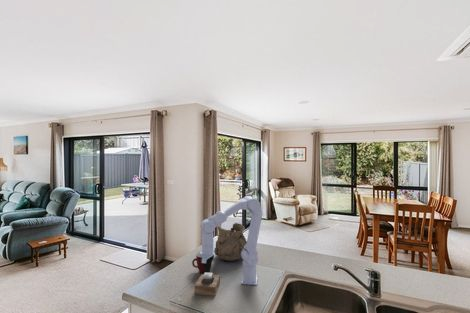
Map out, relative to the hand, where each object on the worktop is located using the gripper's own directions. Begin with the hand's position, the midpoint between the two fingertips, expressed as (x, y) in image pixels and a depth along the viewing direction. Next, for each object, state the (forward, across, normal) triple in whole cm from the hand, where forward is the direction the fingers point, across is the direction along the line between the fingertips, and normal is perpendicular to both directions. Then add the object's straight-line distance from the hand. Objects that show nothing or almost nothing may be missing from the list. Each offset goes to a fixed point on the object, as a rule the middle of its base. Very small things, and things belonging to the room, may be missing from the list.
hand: (207, 271), depth 116 cm
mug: (+9, -16, -8) cm, 20 cm away
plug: (+8, 0, 0) cm, 9 cm away
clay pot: (+9, -38, +6) cm, 39 cm away
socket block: (+8, 0, 0) cm, 8 cm away
